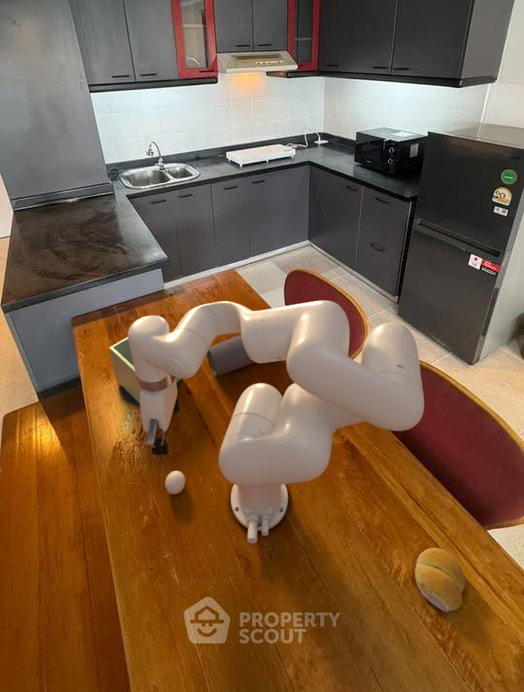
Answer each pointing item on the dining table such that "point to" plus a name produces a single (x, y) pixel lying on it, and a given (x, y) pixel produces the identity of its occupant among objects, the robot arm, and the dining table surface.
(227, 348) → the bluetooth speaker
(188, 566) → the dining table surface
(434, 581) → the bread roll
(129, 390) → the bin
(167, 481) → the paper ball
